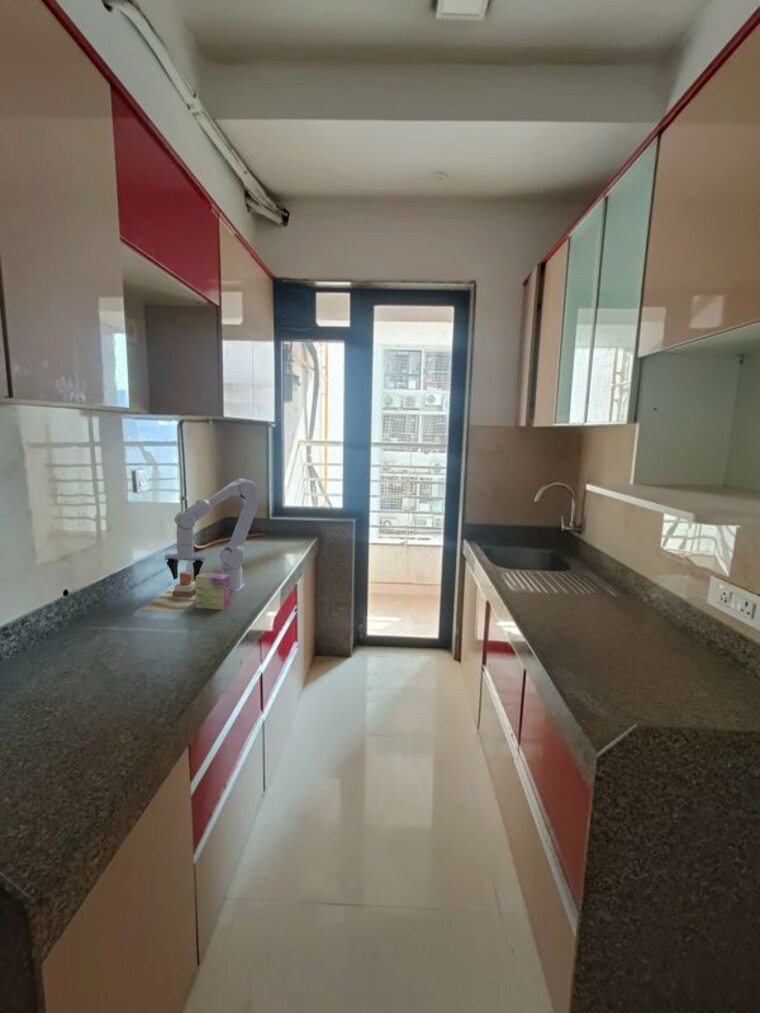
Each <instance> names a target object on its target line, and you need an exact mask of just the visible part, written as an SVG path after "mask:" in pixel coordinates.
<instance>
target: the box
mask: <svg viewBox="0 0 760 1013" xmlns="http://www.w3.org/2000/svg"><path fill="white" fill-rule="evenodd" d="M195 582H196V601H195V608H199V609H200V608H201V609H208V610H209V609H210V610H222V611H223V610H225V609H227V608H228V607H229V606H230V605H231V591H230V575H228V574H222V573H215V572H214V573H213V572H201V573H199V575H197V576H196V580H195Z"/></svg>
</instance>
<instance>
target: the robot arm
mask: <svg viewBox="0 0 760 1013" xmlns="http://www.w3.org/2000/svg"><path fill="white" fill-rule="evenodd" d="M258 492H259V489H258V487H257V485H256V483H255V482H254V481H253V480H250V479H249V480H248V479H245V478H243V477H242V478H241V477H240V478H237V479H235V480H234V481H231V482H229V483H228V484H227V485H226V486H224V487H223V488H222V489H219V491H217V492H216V493H215V494H213V495H212V496H210V497H209V498H208V499H204V498H202V499H197V500H195V503H194V504H192V505H190V506H189V507H185V508H184V510H183V511H179V512H178V513H176V515H175V518H174V519H173V520H174V523H175V524H176V553H166V554H165V555H164V560H165V561H166V565H167V566H168V568H169V569H170V572H171V575H172V578H173V580H177V579H178V576H179V573H178V572H179V571H178V568H179V561H189V562H190V561H191V562H192V568H193V581H196V576H197V575H199V574H200V571H201V569H202V566H203V564H204V563H205V561H206V560H207V557H206V555H205V554H204V555H203V554H198V553H194V552H195V551H194V526H195V524H196V522H198V521H199V520H200V519H202V518H204V517H205V516H207V515H208V514H210V513H211V512H212V510H213V507H215V506H216V505H218V504H220V503H222V502H223V501H225V500H227V499H228V498H230V497H239V498H240V499H241V500H242V503H243V506H242V510H241V512H240V515H239V517H238V519H237V522H236V525H235V526H234V530H233V533H232V536H231V538H230V541H228V542H227V544H226V545H225V547H224V549H222V551H220V553H219V554H220V555H219V559H220V561H221V563H222V565H221V574H228V575H230V592H238V591H240V590H241V589H242V588H243V586H244V585H246V583H245V582H244V583H243V580H244V579H243V578H244V577H243V574H244V572H243V571H244V569H243V567H242V565H243V562H244V558H243V557H244V553H245V550H244V545H245V541H246V539H247V536H248V533H249V531H250V529H251V526H252V524H253V522H254V521H253V520H254V518H255V515H256V513H257V510H258V507H259V505H260V501H259V495H258Z"/></svg>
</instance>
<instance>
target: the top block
mask: <svg viewBox="0 0 760 1013" xmlns="http://www.w3.org/2000/svg"><path fill="white" fill-rule="evenodd" d="M173 588H174V590H175V591H184V592H191V591H192V590H194V589H195V588H196V581H194V580H193V581H192V584H190V585H180V581H179V582H178V583H176V584H175V585H174V587H173Z"/></svg>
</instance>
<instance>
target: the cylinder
mask: <svg viewBox="0 0 760 1013" xmlns="http://www.w3.org/2000/svg"><path fill="white" fill-rule="evenodd" d="M179 582H180V585H190V584H192V572H190V571H184V572H183V571H182V572H180V573H179Z"/></svg>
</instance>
